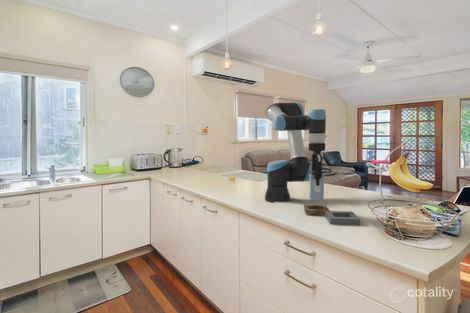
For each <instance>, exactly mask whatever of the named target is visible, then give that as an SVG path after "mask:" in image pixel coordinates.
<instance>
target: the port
mask: <svg viewBox="0 0 470 313" xmlns="http://www.w3.org/2000/svg"><path fill="white" fill-rule="evenodd" d="M324 217H325V219H326V220H327V221H328V224H329V225H343V226H346V225H347V226H361V218H359V216H358V215H356V214H355V213H354V211H351V210H350V211H344V210H342V211H341V210H334V211H332V210H330V211H325V216H324Z"/></svg>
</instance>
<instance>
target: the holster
mask: <svg viewBox="0 0 470 313" xmlns="http://www.w3.org/2000/svg"><path fill="white" fill-rule="evenodd" d="M303 211H304V213H305V215H306V216H316V217H317V216H318V217H319V216H322V217H323V216H324V217H325V211H331V210H330V209H329V208H328V206H327V205H326V204H322V205H321V204H304V205H303Z"/></svg>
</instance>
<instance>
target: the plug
mask: <svg viewBox="0 0 470 313" xmlns="http://www.w3.org/2000/svg"><path fill="white" fill-rule="evenodd" d="M313 177H315V171H311V174H309V181H308V183H309V184H308V190H309V191H308V196H309V197H308V198H309V200H310V201H324V198H325V197H324V196H325V195H324V194H325V190H324V189H325V188H324V186H325V175H324V173H323V171H322V178H321V183H320V192H314V179H313Z"/></svg>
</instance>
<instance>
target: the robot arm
mask: <svg viewBox="0 0 470 313" xmlns="http://www.w3.org/2000/svg"><path fill="white" fill-rule="evenodd" d="M326 114H327V113H326V109H324V108H323V109H322V108H321V109H320V108H315V109H310V110H309V111H308V114H307V115H306V114H305V110H304V106H303V104H302V103H300V102H295V101H293V102H276V103H275V102H274V103H272V104H270V105H268V107H267V108H266V110H265V116H266V118H267V120H269V121H271V122H273V123H272V124H273V129H274V131H279V132H282V131H283V132H285V131H286V132H287V137H288V138H287V139H288V145H289V153H290V158H289V159H288V160H287V159H279V160H278V159H277V160H273V161H270V162H268V163H267V167H266V168H267V170H266V171H267V173H266V174H267V186H266V191H265V194H264V201H266V202H268V203H283V202H290V201H291V194H290V191H289V187H288V183H295V182H297V183H301V182H302V183H303V182H309V174H311V171H315V177H313V179H314V192H320V183H321V178H322V172H323V155H322V154H321V152H324V151H326V143H325V142H326V138H327V137H328V136H327V135H326V130H327V128H326V127H327V126H326V124H327V123H326V122H327V115H326ZM302 131H308V151H309V152H312V154H311V161H309V157H308V156H306V153H305V152H306V151H305V146H304V140H303V139H304V138H303V132H302Z"/></svg>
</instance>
